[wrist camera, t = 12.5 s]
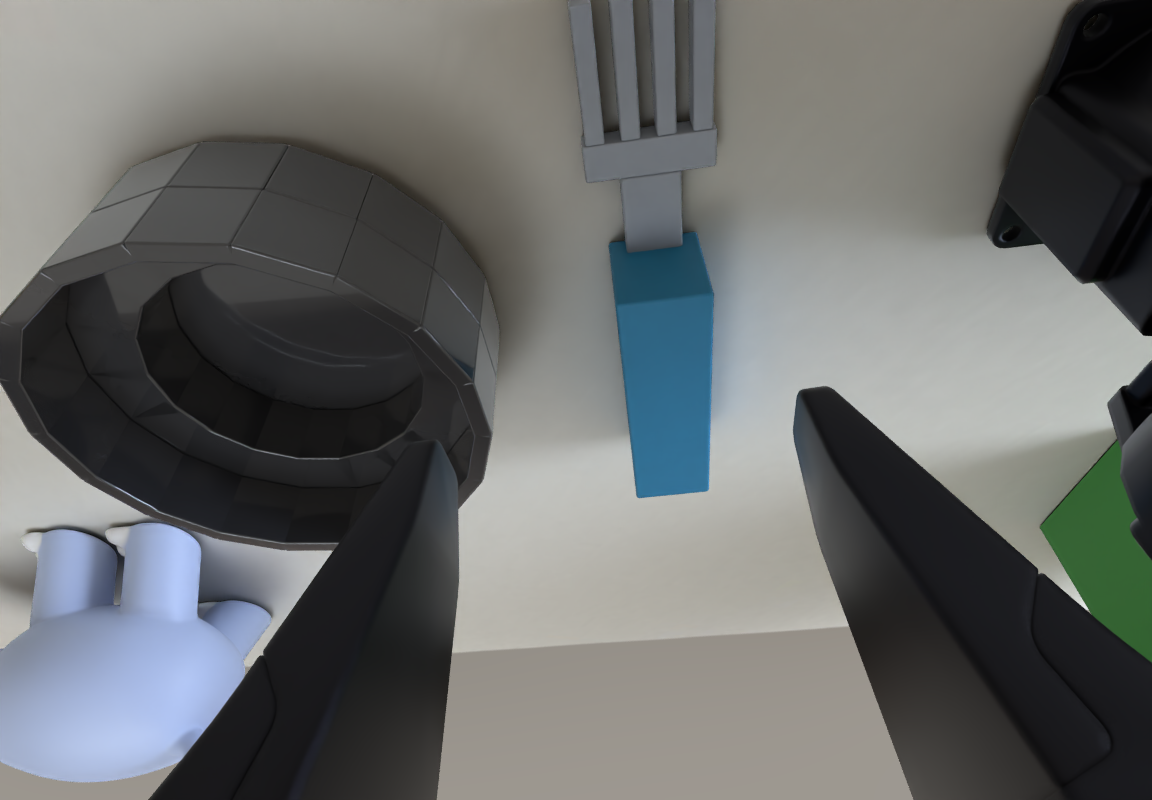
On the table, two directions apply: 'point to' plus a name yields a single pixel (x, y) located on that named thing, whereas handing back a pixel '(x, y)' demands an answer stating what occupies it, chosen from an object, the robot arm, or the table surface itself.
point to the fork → (656, 237)
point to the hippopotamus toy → (118, 656)
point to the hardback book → (1105, 552)
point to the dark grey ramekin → (254, 344)
